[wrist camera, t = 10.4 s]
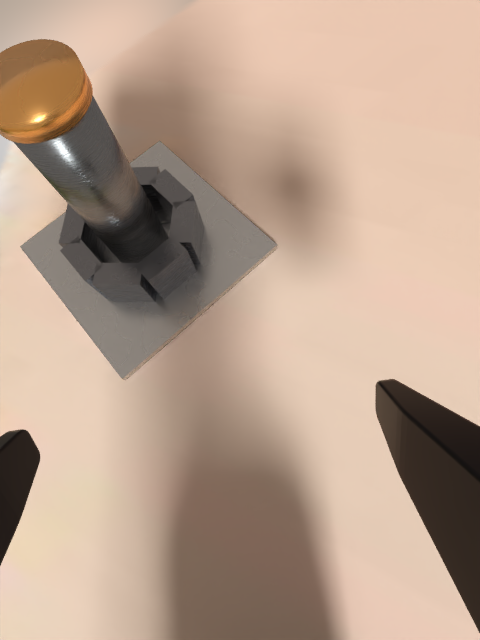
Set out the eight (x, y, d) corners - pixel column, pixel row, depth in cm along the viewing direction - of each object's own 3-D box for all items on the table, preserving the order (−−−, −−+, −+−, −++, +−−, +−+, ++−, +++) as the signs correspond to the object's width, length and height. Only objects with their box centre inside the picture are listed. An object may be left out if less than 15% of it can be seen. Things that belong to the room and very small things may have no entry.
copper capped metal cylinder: (137, 284, 25) (6, 142, 13) (103, 246, 27) (-46, 83, 14) (184, 245, 26) (101, 74, 14) (148, 210, 27) (43, 24, 15)
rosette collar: (125, 380, 24) (100, 370, 20) (24, 249, 28) (-10, 224, 25) (277, 248, 26) (277, 220, 22) (161, 145, 30) (147, 108, 27)
